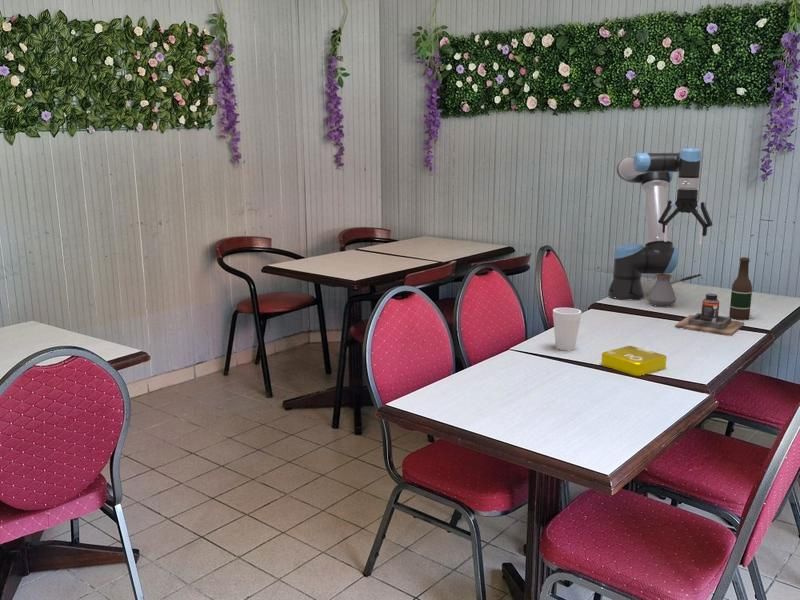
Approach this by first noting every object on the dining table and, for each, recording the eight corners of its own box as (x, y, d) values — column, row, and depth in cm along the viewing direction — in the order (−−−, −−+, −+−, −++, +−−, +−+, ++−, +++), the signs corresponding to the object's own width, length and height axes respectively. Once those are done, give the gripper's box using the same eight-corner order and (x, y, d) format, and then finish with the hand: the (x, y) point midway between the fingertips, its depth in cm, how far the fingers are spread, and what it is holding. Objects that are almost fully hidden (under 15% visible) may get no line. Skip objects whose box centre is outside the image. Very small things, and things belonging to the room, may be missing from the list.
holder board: (674, 327, 282) (675, 319, 281) (689, 317, 297) (690, 309, 297) (731, 336, 270) (732, 327, 269) (744, 324, 286) (744, 317, 285)
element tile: (668, 369, 234) (669, 354, 233) (638, 378, 226) (639, 362, 225) (628, 357, 246) (629, 343, 245) (598, 365, 238) (599, 351, 237)
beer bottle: (753, 320, 292) (759, 259, 287) (733, 320, 292) (739, 259, 287) (744, 315, 300) (750, 256, 294) (725, 315, 300) (730, 256, 295)
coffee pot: (643, 305, 317) (645, 270, 314) (652, 300, 326) (654, 266, 323) (695, 312, 305) (698, 276, 301) (703, 307, 314) (706, 272, 310)
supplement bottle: (718, 325, 280) (721, 296, 278) (701, 325, 281) (704, 295, 279) (715, 322, 286) (718, 292, 283) (699, 321, 287) (701, 292, 285)
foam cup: (579, 352, 250) (581, 314, 247) (551, 351, 252) (553, 313, 249) (578, 344, 259) (580, 308, 256) (551, 343, 261) (553, 307, 258)
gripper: (652, 187, 297) (648, 241, 302) (718, 190, 283) (713, 246, 287) (658, 186, 303) (654, 239, 308) (723, 189, 289) (718, 244, 293)
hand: (683, 242), depth 298 cm, fingers open, 13 cm apart
